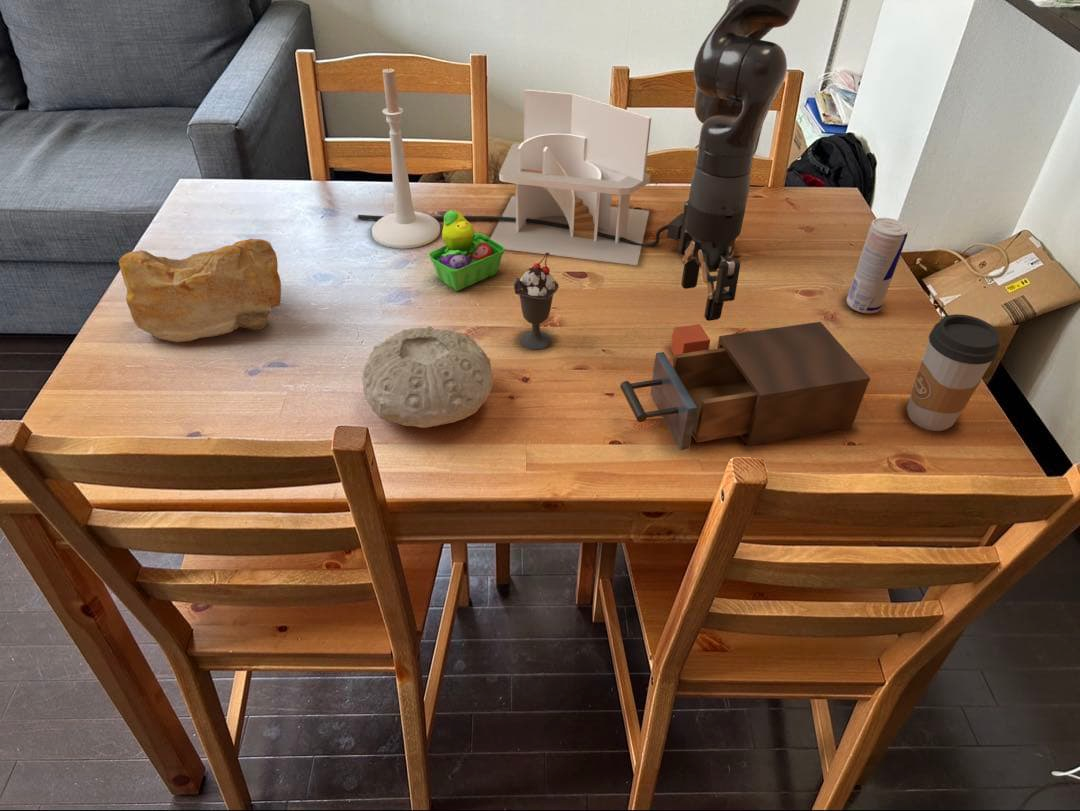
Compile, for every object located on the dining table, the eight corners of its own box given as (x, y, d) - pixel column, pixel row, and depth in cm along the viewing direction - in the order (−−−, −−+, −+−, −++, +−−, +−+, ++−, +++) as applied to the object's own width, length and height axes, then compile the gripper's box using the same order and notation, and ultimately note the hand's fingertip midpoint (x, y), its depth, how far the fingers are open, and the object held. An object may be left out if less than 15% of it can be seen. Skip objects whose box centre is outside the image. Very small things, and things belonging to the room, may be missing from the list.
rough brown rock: (308, 291, 134) (289, 207, 125) (288, 342, 121) (266, 253, 112) (170, 298, 133) (142, 214, 124) (135, 350, 120) (100, 261, 111)
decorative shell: (449, 349, 121) (444, 294, 114) (519, 410, 111) (518, 354, 104) (344, 395, 112) (333, 339, 106) (410, 466, 102) (402, 408, 95)
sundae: (562, 332, 125) (565, 249, 115) (548, 357, 120) (551, 272, 110) (523, 324, 126) (523, 241, 116) (508, 348, 121) (507, 263, 112)
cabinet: (747, 447, 106) (761, 395, 100) (708, 386, 115) (719, 335, 109) (851, 429, 109) (870, 378, 102) (805, 371, 118) (820, 321, 112)
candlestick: (404, 209, 155) (387, 49, 135) (454, 228, 150) (443, 65, 130) (357, 234, 147) (331, 69, 127) (408, 255, 142) (389, 86, 122)
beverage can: (882, 317, 129) (912, 236, 119) (847, 313, 130) (873, 231, 120) (878, 298, 133) (907, 218, 123) (844, 294, 134) (870, 214, 124)
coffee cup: (888, 399, 114) (923, 313, 104) (943, 396, 114) (983, 310, 104) (913, 438, 107) (953, 351, 97) (972, 435, 108) (1017, 348, 98)
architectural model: (485, 247, 144) (481, 121, 129) (512, 195, 160) (511, 78, 145) (637, 265, 140) (651, 137, 125) (649, 210, 156) (663, 91, 140)
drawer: (639, 457, 103) (645, 415, 98) (611, 399, 111) (616, 358, 106) (780, 433, 106) (793, 392, 101) (743, 379, 115) (752, 338, 110)
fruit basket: (455, 297, 132) (451, 237, 124) (424, 276, 137) (419, 217, 129) (507, 274, 137) (506, 215, 130) (476, 254, 142) (474, 196, 135)
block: (680, 365, 119) (684, 343, 116) (670, 349, 122) (673, 327, 119) (706, 362, 119) (710, 339, 117) (695, 345, 123) (699, 323, 120)
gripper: (670, 179, 108) (658, 280, 118) (713, 227, 97) (695, 334, 108) (721, 173, 109) (704, 274, 120) (768, 220, 99) (745, 326, 109)
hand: (700, 302), depth 114 cm, fingers open, 8 cm apart
